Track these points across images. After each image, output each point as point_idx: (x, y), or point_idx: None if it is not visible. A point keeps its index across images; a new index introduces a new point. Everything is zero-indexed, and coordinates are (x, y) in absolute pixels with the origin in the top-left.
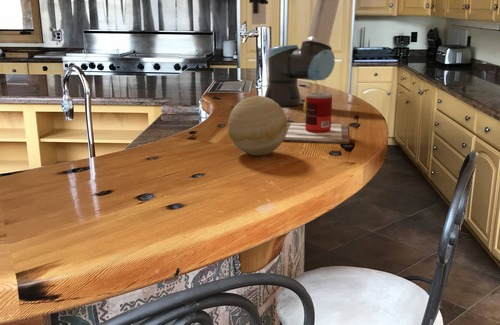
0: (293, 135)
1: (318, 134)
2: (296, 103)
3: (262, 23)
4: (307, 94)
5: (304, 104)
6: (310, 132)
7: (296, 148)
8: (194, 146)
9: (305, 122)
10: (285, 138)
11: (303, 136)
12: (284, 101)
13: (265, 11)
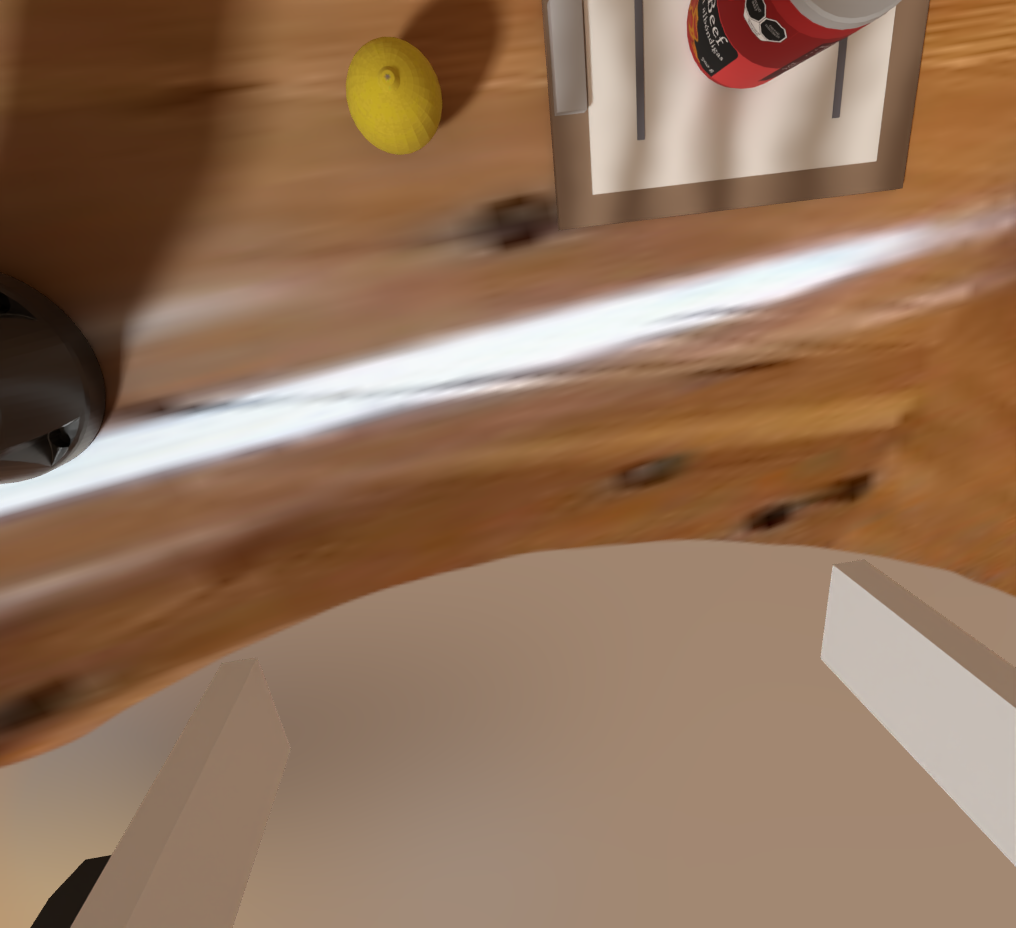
0: (848, 130)
1: None
2: (8, 280)
3: (269, 700)
4: (869, 12)
5: (419, 140)
6: None
7: (1003, 87)
8: (953, 442)
9: (766, 79)
10: (887, 158)
11: (866, 79)
12: (70, 345)
13: (159, 862)
